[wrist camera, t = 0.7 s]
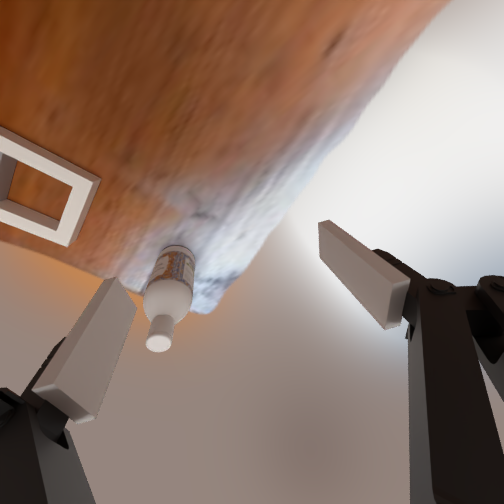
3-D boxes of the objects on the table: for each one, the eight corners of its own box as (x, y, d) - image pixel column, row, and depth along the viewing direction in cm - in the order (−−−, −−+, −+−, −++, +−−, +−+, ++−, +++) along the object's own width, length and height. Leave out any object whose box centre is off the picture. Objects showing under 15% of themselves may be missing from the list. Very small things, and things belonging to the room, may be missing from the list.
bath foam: (177, 237, 41) (158, 313, 24) (202, 261, 45) (200, 343, 27) (150, 258, 42) (112, 345, 25) (176, 280, 46) (159, 370, 28)
